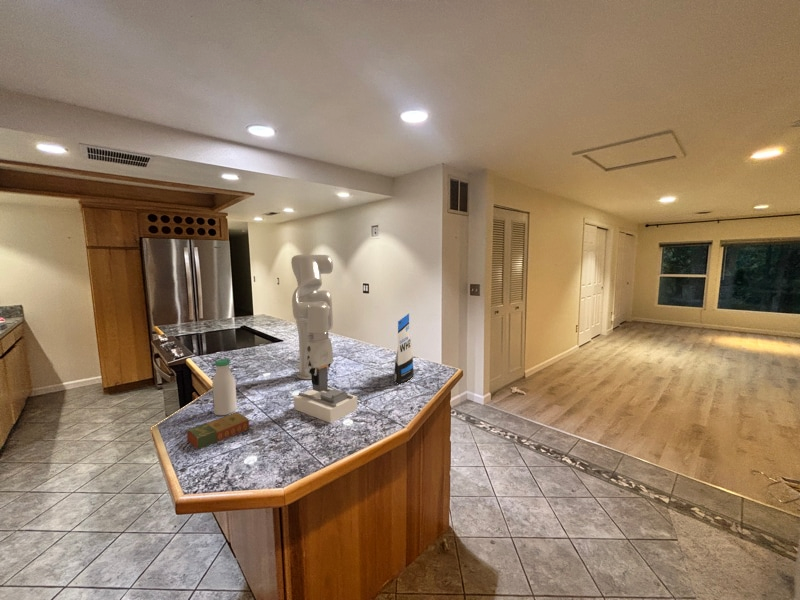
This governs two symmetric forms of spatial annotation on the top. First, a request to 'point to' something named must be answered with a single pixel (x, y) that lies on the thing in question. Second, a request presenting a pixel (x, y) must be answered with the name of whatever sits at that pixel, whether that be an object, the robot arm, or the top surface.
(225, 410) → the milk bottle
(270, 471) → the top surface
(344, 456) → the top surface
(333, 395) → the shutter
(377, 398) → the top surface
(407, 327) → the protein powder
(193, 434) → the carton
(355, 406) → the socket
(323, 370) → the plug
